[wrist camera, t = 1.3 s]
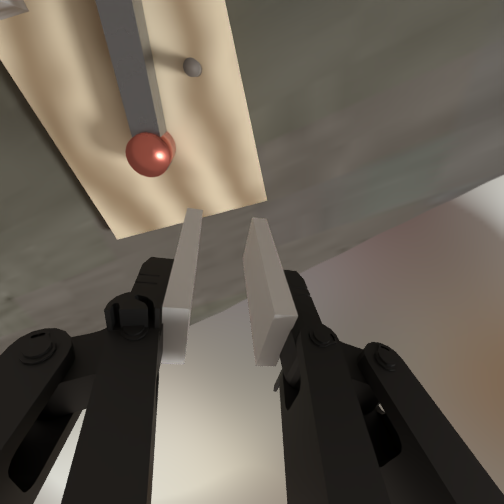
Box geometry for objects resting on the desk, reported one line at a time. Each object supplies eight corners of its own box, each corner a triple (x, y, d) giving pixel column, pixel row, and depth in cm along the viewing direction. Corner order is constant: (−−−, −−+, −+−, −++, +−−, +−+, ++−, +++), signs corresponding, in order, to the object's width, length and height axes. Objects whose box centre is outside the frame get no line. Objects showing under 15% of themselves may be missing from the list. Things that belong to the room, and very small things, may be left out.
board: (163, -279, 15) (127, -507, 9) (264, 194, 32) (274, 219, 26) (-130, -174, 16) (-334, -321, 10) (122, 231, 33) (101, 263, 27)
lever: (129, -109, 17) (106, -158, 13) (178, 163, 27) (172, 176, 23) (72, -111, 16) (32, -162, 13) (143, 165, 26) (132, 178, 23)
